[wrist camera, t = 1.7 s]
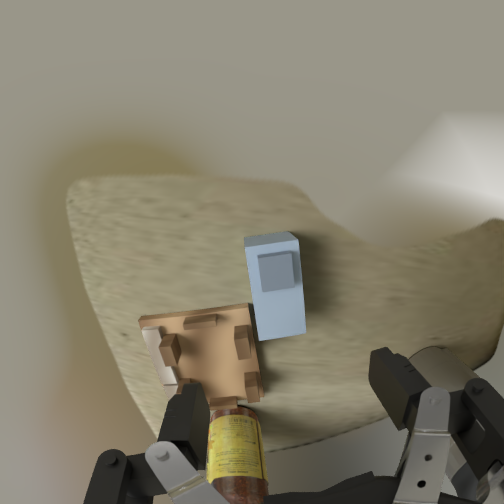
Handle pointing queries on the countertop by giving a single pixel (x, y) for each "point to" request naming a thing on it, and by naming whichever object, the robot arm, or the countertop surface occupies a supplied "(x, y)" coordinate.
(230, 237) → the countertop surface
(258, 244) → the light blue block
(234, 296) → the countertop surface
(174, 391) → the jig
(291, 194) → the countertop surface
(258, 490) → the sauce bottle
